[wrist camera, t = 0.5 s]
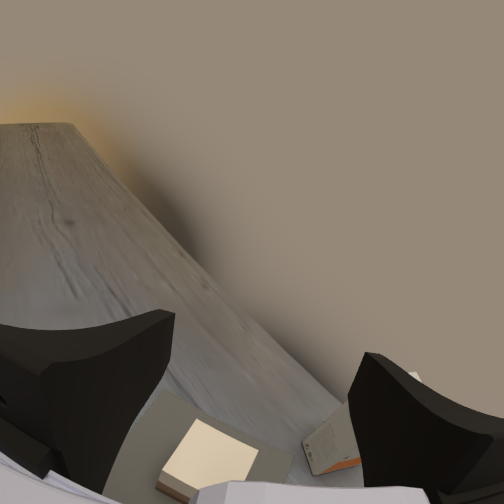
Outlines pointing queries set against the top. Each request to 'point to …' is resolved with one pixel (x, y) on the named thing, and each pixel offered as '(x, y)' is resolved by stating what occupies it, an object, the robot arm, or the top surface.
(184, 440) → the tower mid
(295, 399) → the top surface
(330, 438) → the skincare box
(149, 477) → the mat
